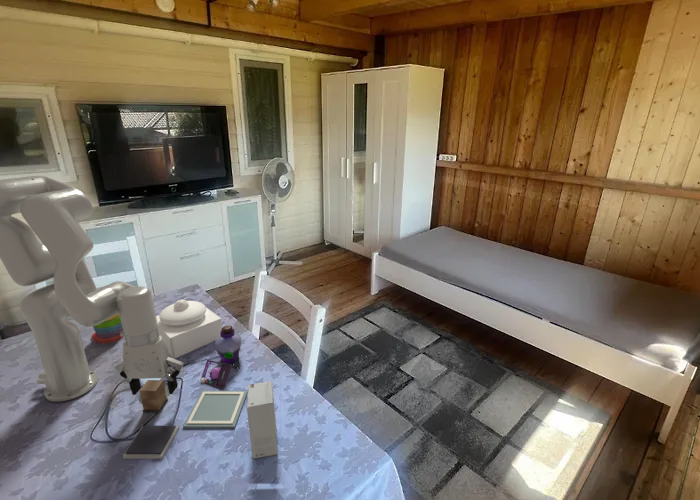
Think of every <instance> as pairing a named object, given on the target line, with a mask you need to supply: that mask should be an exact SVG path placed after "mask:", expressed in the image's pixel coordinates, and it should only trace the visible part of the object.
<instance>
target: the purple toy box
mask: <svg viewBox="0 0 700 500" xmlns="http://www.w3.org/2000/svg"><path fill="white" fill-rule="evenodd" d="M212 363H213V364H217V365H218V364H219V365H221V366H220V367H215V368H213V369H210V371H208V369H209V366H210V365H212ZM231 368H232V364H231V363H225V362H220V361H215V360H209V359H207V360H206V363H205V366H204V369H203V371H202V374H201V378H200V383H202V384H204V385H205V384H206V386H207V385H208V386H211V387H217V388H219V389H220V388H221V389H225V388H226V385H227V382H228V379H229V375H230V371H231ZM207 372H208V374H209V375H208V378H206V376H207ZM209 378H211V379H209ZM214 380H216V382H215V384H213V383H214Z"/></svg>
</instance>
